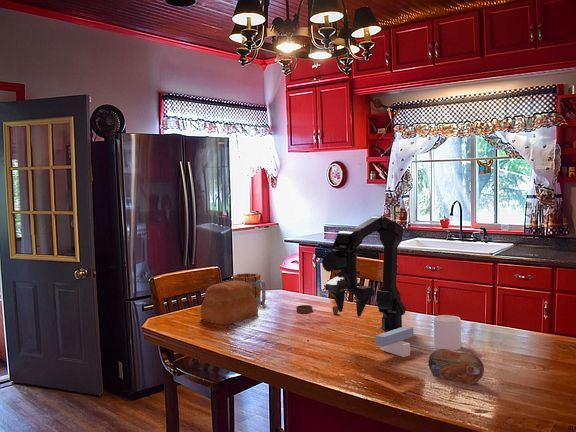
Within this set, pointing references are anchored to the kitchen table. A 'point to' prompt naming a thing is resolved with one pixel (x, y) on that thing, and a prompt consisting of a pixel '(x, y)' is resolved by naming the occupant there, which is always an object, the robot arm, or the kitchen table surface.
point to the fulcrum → (398, 348)
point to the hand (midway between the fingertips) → (349, 314)
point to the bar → (393, 336)
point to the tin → (456, 366)
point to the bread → (228, 303)
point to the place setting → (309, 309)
